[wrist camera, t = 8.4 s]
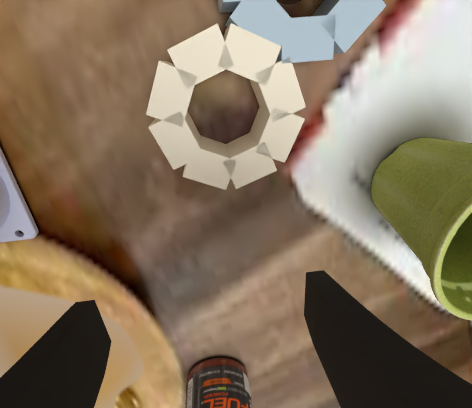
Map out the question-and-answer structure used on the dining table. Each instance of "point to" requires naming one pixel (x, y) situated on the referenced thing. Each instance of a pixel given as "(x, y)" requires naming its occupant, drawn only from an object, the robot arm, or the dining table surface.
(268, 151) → the cream bead
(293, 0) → the brown wooden peg
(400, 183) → the plant pot
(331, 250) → the dining table surface
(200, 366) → the supplement bottle
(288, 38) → the blue bead
